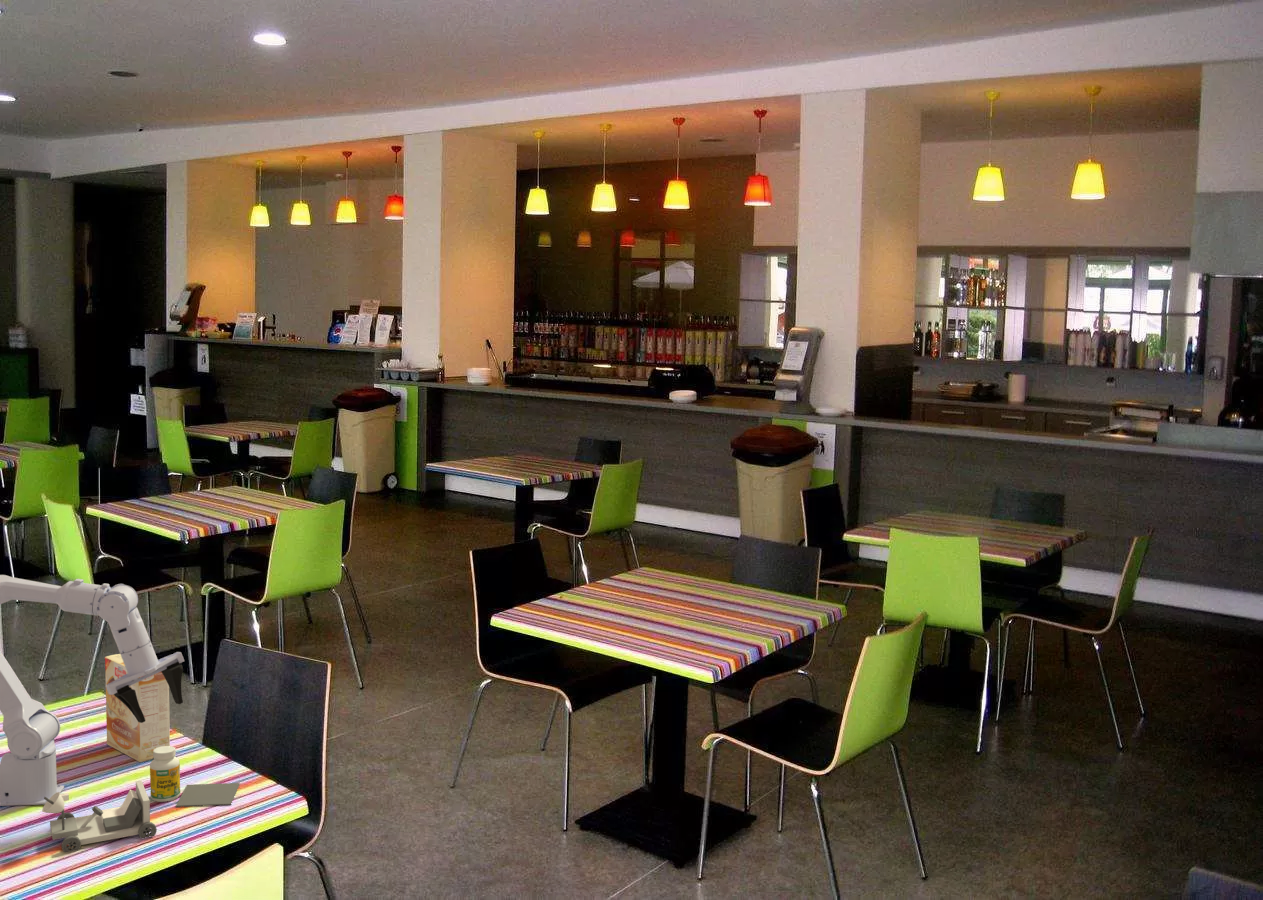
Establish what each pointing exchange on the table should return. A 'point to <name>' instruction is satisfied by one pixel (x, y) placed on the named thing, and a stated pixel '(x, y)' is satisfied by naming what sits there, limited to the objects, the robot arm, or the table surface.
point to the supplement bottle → (165, 774)
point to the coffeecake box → (122, 722)
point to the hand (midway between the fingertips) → (160, 712)
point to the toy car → (101, 820)
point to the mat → (208, 794)
